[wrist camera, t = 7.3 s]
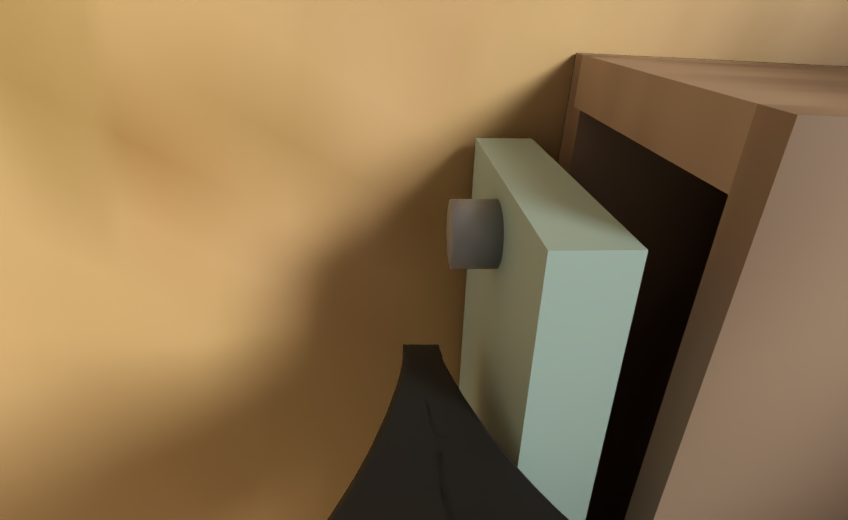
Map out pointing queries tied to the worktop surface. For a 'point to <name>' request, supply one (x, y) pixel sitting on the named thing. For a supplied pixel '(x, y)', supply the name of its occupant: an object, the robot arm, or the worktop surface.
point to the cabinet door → (542, 313)
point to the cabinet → (723, 283)
